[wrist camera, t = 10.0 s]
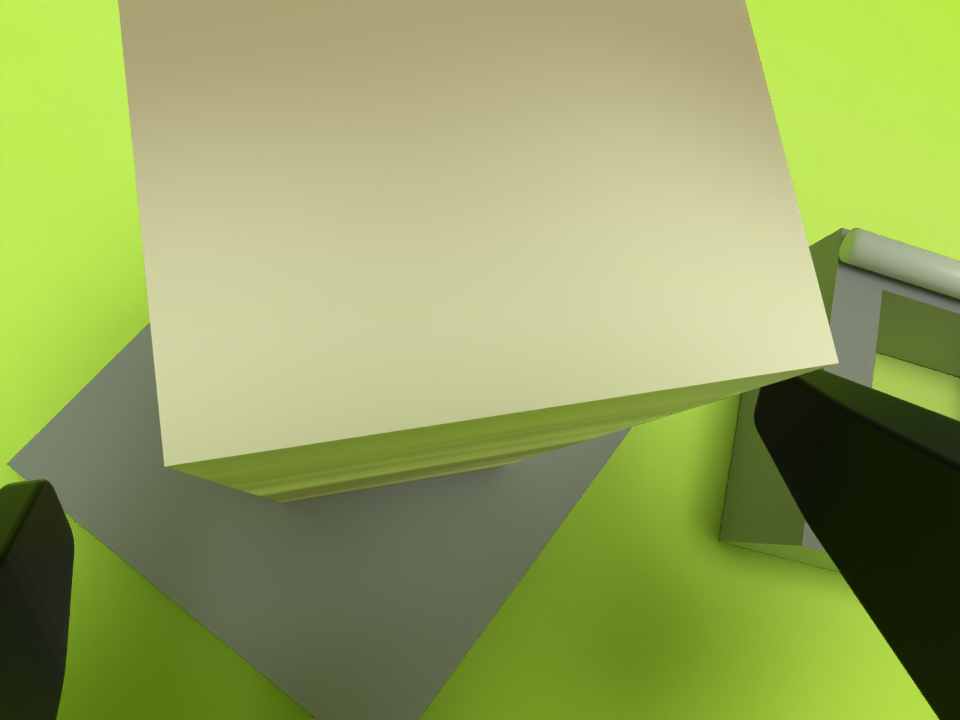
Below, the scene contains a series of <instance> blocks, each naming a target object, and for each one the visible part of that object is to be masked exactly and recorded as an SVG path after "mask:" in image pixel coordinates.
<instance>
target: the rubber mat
mask: <svg viewBox="0 0 960 720" xmlns="http://www.w3.org/2000/svg"><path fill="white" fill-rule="evenodd" d="M631 428H632V427H630V428H626V429H623V430H620V431H617V432H613V433H610V434H607V435H604V436H600V437H597V438H594V439H591V440H587V441H584V442H581V443H578V444H574V445H571V446H568V447H564V448H561V449H558V450H555V451H551V452H548V453H545V454H542V455H538V456H535V457H532V458H529V459H525V460H522V461H519V462H516V463H512V464H509V465H506V466H502V467H496V468H490V469H484V470H478V471H472V472H466V473H460V474H454V475H448V476H442V477H436V478H430V479H425V480H419V481H413V482H407V483H401V484H395V485H389V486H383V487H377V488H371V489H365V490H359V491H353V492H348V493H342V494H336V495H330V496H324V497H318V498H312V499H306V500H300V501H294V502H288V503H280V502H277V501H274V500H270V499H267V498H264V497H261V496H258V495H254V494H251V493H248V492H245V491H241V490H238V489H235V488H232V487H229V486H225V485H222V484H219V483H216V482H212V481H209V480H206V479H203V478H200V477H196V476H193V475H190V474H187V473H184V472H180V471H177V470H174V469H171V468H167V467H164V457H163V447H162V437H161V427H160V417H159V407H158V397H157V387H156V377H155V367H154V356H153V346H152V336H151V326H150V323H149V324H148V325H147V326H146V327H145V328H144V329H143V330H142V331H141V332H140V333H139V334H138V335H137V336H136V337H135V338H134V339H133V340H132V341H131V342H130V343H129V344H128V345H127V346H126V347H125V348H124V349H123V350H122V351H121V352H120V353H118V354H117V355H116V356H115V357H114V358H113V359H112V360H111V361H110V362H109V363H108V364H107V365H106V366H105V367H104V368H103V369H102V370H101V371H100V372H99V373H98V374H97V375H96V376H95V377H94V378H93V379H92V380H91V381H90V382H89V383H88V384H87V385H86V386H85V387H84V388H83V389H82V390H81V391H80V392H79V393H78V394H77V395H76V396H75V397H74V398H73V399H72V400H71V401H70V402H69V403H68V404H67V405H66V406H65V407H64V408H63V409H62V410H61V411H60V412H59V413H58V414H57V415H56V416H55V417H54V418H53V419H52V420H51V421H50V422H49V423H48V424H47V425H46V426H45V427H44V428H43V429H42V430H41V431H40V432H39V433H38V434H37V435H36V436H35V437H34V438H33V439H32V440H31V441H30V442H29V443H28V444H26V445H25V446H24V447H23V448H22V449H21V450H20V451H19V452H18V453H17V454H16V455H15V456H14V457H13V458H12V459H11V460H10V461H9V462H8V463H7V465H9V466H10V467H11V468H12V469H13V470H15V471H16V472H17V473H18V474H20V475H21V476H22V477H23V478H24V479H26V480H27V481H28V480H35V479H45V480H48V481H49V482H50V483H51V484H52V485H53V487H54V489H55V491H56V494H57V496H58V499H59V501H60V503H61V506H62V508H63V511H65V512H66V513H67V514H68V515H69V516H71V517H72V518H73V519H74V520H75V521H77V522H78V523H79V524H80V525H82V526H83V527H84V528H85V529H86V530H88V531H89V532H90V533H91V534H92V535H94V536H95V537H96V538H97V539H99V540H100V541H101V542H102V543H103V544H105V545H106V546H107V547H108V548H109V549H111V550H112V551H113V552H114V553H116V554H117V555H118V556H119V557H120V558H122V559H123V560H124V561H125V562H126V563H128V564H129V565H130V566H131V567H133V568H134V569H135V570H136V571H137V572H139V573H140V574H141V575H142V576H143V577H145V578H146V579H147V580H148V581H150V582H151V583H152V584H153V585H154V586H156V587H157V588H158V589H159V590H161V591H162V592H163V593H164V594H165V595H167V596H168V597H169V598H170V599H171V600H173V601H174V602H175V603H176V604H178V605H179V606H180V607H181V608H182V609H184V610H185V611H186V612H187V613H188V614H190V615H191V616H192V617H193V618H195V619H196V620H197V621H198V622H199V623H201V624H202V625H203V626H204V627H205V628H207V629H208V630H209V631H210V632H212V633H213V634H214V635H215V636H216V637H218V638H219V639H220V640H221V641H222V642H224V643H225V644H226V645H227V646H229V647H230V648H231V649H232V650H233V651H235V652H236V653H237V654H238V655H240V656H241V657H242V658H243V659H244V660H246V661H247V662H248V663H249V664H250V665H252V666H253V667H254V668H255V669H257V670H258V671H259V672H260V673H261V674H263V675H264V676H265V677H266V678H267V679H269V680H270V681H271V682H272V683H274V684H275V685H276V686H277V687H278V688H280V689H281V690H282V691H283V692H284V693H286V694H287V695H288V696H289V697H291V698H292V699H293V700H294V701H295V702H297V703H298V704H299V705H300V706H301V707H303V708H304V709H305V710H306V711H308V712H309V713H310V714H311V715H312V716H314V717H315V718H316V719H317V720H419V718H420V717H421V716H422V714H423V713H424V712H425V710H426V709H427V707H428V706H429V705H430V703H431V702H432V701H433V699H434V698H435V697H436V695H437V694H438V692H439V691H440V690H441V688H442V687H443V686H444V684H445V683H446V681H447V680H448V679H449V677H450V676H451V675H452V673H453V672H454V670H455V669H456V668H457V666H458V665H459V664H460V662H461V661H462V659H463V658H464V657H465V655H466V654H467V653H468V651H469V650H470V648H471V647H472V646H473V644H474V643H475V642H476V640H477V639H478V638H479V636H480V635H481V633H482V632H483V631H484V629H485V628H486V627H487V625H488V624H489V622H490V621H491V620H492V618H493V617H494V616H495V614H496V613H497V611H498V610H499V609H500V607H501V606H502V605H503V603H504V602H505V600H506V599H507V598H508V596H509V595H510V594H511V592H512V591H513V589H514V588H515V587H516V585H517V584H518V583H519V581H520V580H521V579H522V577H523V576H524V574H525V573H526V572H527V570H528V569H529V568H530V566H531V565H532V563H533V562H534V561H535V559H536V558H537V557H538V555H539V554H540V552H541V551H542V550H543V548H544V547H545V546H546V544H547V543H548V541H549V540H550V539H551V537H552V536H553V535H554V533H555V532H556V531H557V529H558V528H559V526H560V525H561V524H562V522H563V521H564V520H565V518H566V517H567V515H568V514H569V513H570V511H571V510H572V509H573V507H574V506H575V504H576V503H577V502H578V500H579V499H580V498H581V496H582V495H583V493H584V492H585V491H586V489H587V488H588V487H589V485H590V484H591V482H592V481H593V480H594V478H595V477H596V476H597V474H598V473H599V472H600V470H601V469H602V467H603V466H604V465H605V463H606V462H607V461H608V459H609V458H610V456H611V455H612V454H613V452H614V451H615V450H616V448H617V447H618V445H619V444H620V443H621V441H622V440H623V439H624V437H625V436H626V434H627V433H628V432H629V430H630V429H631Z"/></svg>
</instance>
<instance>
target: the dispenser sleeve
mask: <svg viewBox="0 0 960 720" xmlns="http://www.w3.org/2000/svg"><path fill="white" fill-rule="evenodd" d="M809 250H810V253H811V257H812V261H813V265H814V269H815V273H816V277H817V280H818V284H819V288H820V292H821V296H822V300H823V304H824V307H825V311H826V315H827V319H828V323H829V327H830V330H831V334H832V338H833V342H834V346H835V350H836V354H837V357H838V361H839V363H838V364H835V365H831V366H828V367H825V368H822V370H825V371H827V372H830V373H833V374H835V375H838V376H841V377H843V378H846V379H849V380H851V381H854V382H857V383H859V384H862V385H865V386H867V387H870V388H872V381H873V372H874V363H875V354H876V352H878V353H882V354H885V355H888V356H891V357H895V358H898V359H901V360H905V361H908V362H911V363H914V364H918V365H921V366H924V367H928V368H931V369H934V370H937V371H941V372H944V373H947V374H951V375H954V376H957V377H960V261H957V260H954V259H951V258H948V257H945V256H942V255H939V254H936V253H933V252H930V251H927V250H924V249H921V248H918V247H915V246H912V245H909V244H905V243H902V242H899V241H896V240H893V239H890V238H887V237H884V236H881V235H878V234H875V233H872V232H869V231H866V230H863V229H860V228H854V229H852V230H851V231H850V230H847V229H844V228H841V229H839V230H838V231H836V232H834V233H832V234H831V235H829V236H827V237H825V238H824V239H822V240H820V241H818V242H816V243H815V244H813V245H811V246H809ZM759 389H760V388H756V389H753V390H750V391H747V392H743V393H742V396H741V403H740V409H739V416H738V422H737V429H736V435H735V442H734V448H733V455H732V461H731V468H730V474H729V481H728V487H727V494H726V500H725V507H724V513H723V520H722V526H721V533H720V539H719V541H721V542H724V543H728V544H732V545H736V546H740V547H744V548H748V549H751V550H755V551H759V552H763V553H767V554H771V555H774V556H778V557H782V558H786V559H790V560H794V561H798V562H801V563H805V564H809V565H813V566H817V567H821V568H825V569H828V570H832V571H836V572H839V570H838V569H837V567H836V566H835V564H834V563H833V561H832V560H831V558H830V557H829V556H828V554H827V553H826V551H825V550H824V548H823V547H822V545H821V544H820V542H819V541H818V539H817V538H816V536H815V535H814V533H813V532H812V530H811V529H810V527H809V525H808V524H807V522H806V521H805V519H804V517H803V516H802V514H801V512H800V510H799V509H798V507H797V505H796V503H795V501H794V500H793V498H792V496H791V494H790V492H789V490H788V488H787V486H786V485H785V483H784V481H783V479H782V477H781V475H780V473H779V471H778V470H777V468H776V466H775V464H774V462H773V460H772V458H771V456H770V455H769V453H768V451H767V449H766V447H765V445H764V443H763V441H762V440H761V438H760V436H759V434H758V432H757V430H756V427H755V424H754V409H755V405H756V401H757V397H758V393H759Z"/></svg>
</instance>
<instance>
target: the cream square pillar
mask: <svg viewBox="0 0 960 720" xmlns="http://www.w3.org/2000/svg"><path fill="white" fill-rule="evenodd" d="M118 3H119V13H120V24H121V34H122V44H123V54H124V64H125V74H126V84H127V94H128V104H129V114H130V124H131V135H132V145H133V155H134V165H135V175H136V185H137V195H138V205H139V215H140V225H141V235H142V246H143V256H144V266H145V276H146V286H147V296H148V306H149V316H150V326H151V336H152V346H153V356H154V367H155V377H156V387H157V397H158V407H159V417H160V427H161V437H162V447H163V457H164V467H167V468H171V469H174V470H177V471H180V472H184V473H187V474H190V475H193V476H196V477H200V478H203V479H206V480H209V481H212V482H216V483H219V484H222V485H225V486H229V487H232V488H235V489H238V490H241V491H245V492H248V493H251V494H254V495H258V496H261V497H264V498H267V499H270V500H274V501H277V502H280V503H288V502H294V501H300V500H306V499H312V498H318V497H324V496H330V495H336V494H342V493H348V492H353V491H359V490H365V489H371V488H377V487H383V486H389V485H395V484H401V483H407V482H413V481H419V480H425V479H430V478H436V477H442V476H448V475H454V474H460V473H466V472H472V471H478V470H484V469H490V468H496V467H502V466H506V465H509V464H512V463H516V462H519V461H522V460H525V459H529V458H532V457H535V456H538V455H542V454H545V453H548V452H551V451H555V450H558V449H561V448H564V447H568V446H571V445H574V444H578V443H581V442H584V441H587V440H591V439H594V438H597V437H600V436H604V435H607V434H610V433H613V432H617V431H620V430H623V429H626V428H630V427H633V426H636V425H639V424H643V423H646V422H649V421H652V420H656V419H659V418H662V417H665V416H669V415H672V414H675V413H678V412H682V411H685V410H688V409H691V408H695V407H698V406H701V405H704V404H708V403H711V402H714V401H717V400H721V399H724V398H727V397H730V396H734V395H737V394H740V393H743V392H747V391H750V390H753V389H756V388H760V387H763V386H766V385H769V384H773V383H776V382H779V381H782V380H786V379H789V378H792V377H796V376H799V375H802V374H805V373H809V372H812V371H815V370H818V369H822V368H825V367H828V366H831V365H835V364H838V363H839V361H838V357H837V354H836V350H835V346H834V342H833V338H832V334H831V330H830V327H829V323H828V319H827V315H826V311H825V307H824V304H823V300H822V296H821V292H820V288H819V284H818V280H817V277H816V273H815V269H814V265H813V261H812V257H811V253H810V250H809V246H808V242H807V238H806V234H805V230H804V226H803V223H802V219H801V215H800V211H799V207H798V203H797V200H796V196H795V192H794V188H793V184H792V180H791V176H790V173H789V169H788V165H787V161H786V157H785V153H784V149H783V146H782V142H781V138H780V134H779V130H778V126H777V122H776V119H775V115H774V111H773V107H772V103H771V99H770V95H769V92H768V88H767V84H766V80H765V76H764V72H763V69H762V65H761V61H760V57H759V53H758V49H757V45H756V42H755V38H754V34H753V30H752V26H751V22H750V18H749V15H748V11H747V7H746V3H745V0H118Z"/></svg>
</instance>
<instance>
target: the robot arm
mask: <svg viewBox="0 0 960 720" xmlns="http://www.w3.org/2000/svg"><path fill="white" fill-rule="evenodd" d="M754 424H755V427H756V430H757V432H758V434H759V436H760V438H761V440H762V441H763V443H764V445H765V447H766V449H767V451H768V453H769V455H770V456H771V458H772V460H773V462H774V464H775V466H776V468H777V470H778V471H779V473H780V475H781V477H782V479H783V481H784V483H785V485H786V486H787V488H788V490H789V492H790V494H791V496H792V498H793V500H794V501H795V503H796V505H797V507H798V509H799V510H800V512H801V514H802V516H803V517H804V519H805V521H806V522H807V524H808V525H809V527H810V529H811V530H812V532H813V533H814V535H815V536H816V538H817V539H818V541H819V542H820V544H821V545H822V547H823V548H824V550H825V551H826V553H827V554H828V556H829V557H830V558H831V560H832V561H833V563H834V564H835V566H836V567H837V569H838V570H839V572H840V573H841V575H842V576H843V578H844V579H845V581H846V582H847V584H848V585H849V587H850V588H851V590H852V591H853V593H854V594H855V596H856V597H857V598H858V600H859V601H860V603H861V604H862V606H863V607H864V609H865V610H866V612H867V613H868V615H869V616H870V618H871V619H872V621H873V622H874V624H875V625H876V627H877V628H878V630H879V631H880V633H881V634H882V636H883V637H884V638H885V640H886V641H887V643H888V644H889V646H890V647H891V649H892V650H893V652H894V653H895V655H896V656H897V658H898V659H899V661H900V662H901V664H902V665H903V667H904V668H905V670H906V671H907V673H908V674H909V675H910V677H911V678H912V680H913V681H914V683H915V684H916V686H917V687H918V689H919V690H920V692H921V693H922V695H923V696H924V698H925V699H926V701H927V702H928V704H929V705H930V707H931V708H932V710H933V711H934V713H935V714H936V715H937V717H938V718H939V720H960V421H957V420H955V419H952V418H949V417H947V416H944V415H941V414H939V413H936V412H933V411H931V410H928V409H925V408H923V407H920V406H918V405H915V404H912V403H910V402H907V401H904V400H902V399H899V398H896V397H894V396H891V395H888V394H886V393H883V392H880V391H878V390H875V389H873V388H870V387H867V386H865V385H862V384H859V383H857V382H854V381H851V380H849V379H846V378H843V377H841V376H838V375H835V374H833V373H830V372H827V371H825V370H822V369H818V370H815V371H812V372H809V373H805V374H802V375H799V376H796V377H792V378H789V379H786V380H782V381H779V382H776V383H773V384H769V385H766V386H763V387H760V389H759V393H758V397H757V401H756V405H755V409H754ZM73 560H74V540H73V534H72V530H71V528H70V525H69V523H68V520H67V518H66V516H65V513H64V511H63V508H62V506H61V503H60V501H59V499H58V496H57V494H56V491H55V489H54V487H53V485H52V484H51V483H50V482H49V481H48V480H45V479H35V480H28V481H22V482H15V483H10V484H7V485H5V486H4V487H2V488H1V489H0V720H56V718H57V713H58V708H59V703H60V698H61V693H62V687H63V681H64V675H65V665H66V655H67V642H68V628H69V614H70V601H71V587H72V573H73Z"/></svg>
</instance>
